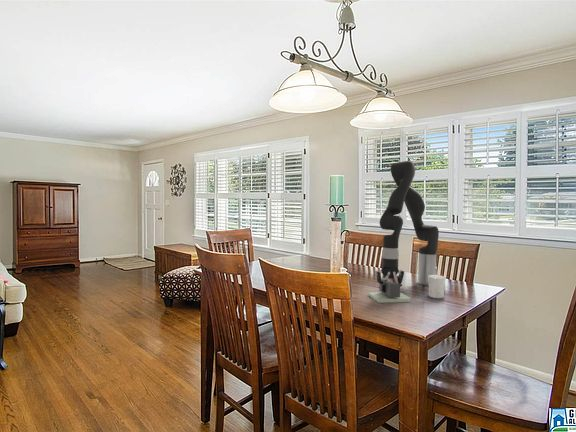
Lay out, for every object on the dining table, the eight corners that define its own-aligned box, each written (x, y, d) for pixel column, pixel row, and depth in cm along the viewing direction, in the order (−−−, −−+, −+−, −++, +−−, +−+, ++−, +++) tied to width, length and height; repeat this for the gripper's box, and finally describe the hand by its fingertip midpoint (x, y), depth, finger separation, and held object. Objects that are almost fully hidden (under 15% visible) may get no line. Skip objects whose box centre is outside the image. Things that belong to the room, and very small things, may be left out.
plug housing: (388, 290, 180) (389, 278, 180) (399, 297, 168) (400, 284, 168) (379, 290, 179) (379, 278, 179) (389, 297, 167) (390, 284, 167)
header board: (399, 294, 181) (399, 285, 181) (410, 301, 169) (411, 292, 169) (368, 295, 179) (368, 286, 178) (378, 302, 167) (378, 293, 167)
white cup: (444, 295, 181) (445, 275, 181) (445, 299, 174) (446, 278, 173) (427, 293, 184) (428, 274, 183) (427, 297, 176) (428, 277, 176)
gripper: (400, 255, 178) (399, 289, 179) (372, 255, 175) (372, 290, 176) (408, 258, 170) (407, 293, 171) (379, 258, 168) (378, 294, 169)
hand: (389, 292), depth 174 cm, fingers closed on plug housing, 5 cm apart
